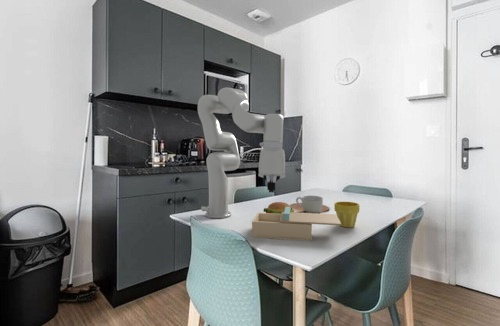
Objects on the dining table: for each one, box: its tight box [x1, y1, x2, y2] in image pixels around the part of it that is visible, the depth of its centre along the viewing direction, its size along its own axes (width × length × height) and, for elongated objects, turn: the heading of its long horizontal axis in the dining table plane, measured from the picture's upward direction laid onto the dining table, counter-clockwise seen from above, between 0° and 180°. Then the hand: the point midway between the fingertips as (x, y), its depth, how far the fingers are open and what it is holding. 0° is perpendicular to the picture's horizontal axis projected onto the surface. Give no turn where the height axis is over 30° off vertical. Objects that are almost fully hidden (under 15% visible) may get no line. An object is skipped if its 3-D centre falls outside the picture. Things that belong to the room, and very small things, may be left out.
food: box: [262, 201, 295, 214], centre depth 129 cm, size 14×14×8 cm
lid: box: [280, 207, 341, 226], centre depth 105 cm, size 22×14×3 cm, turn 80°
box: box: [251, 212, 313, 242], centre depth 107 cm, size 22×14×6 cm, turn 80°
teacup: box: [295, 195, 324, 214], centre depth 144 cm, size 14×11×8 cm
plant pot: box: [333, 201, 360, 229], centre depth 118 cm, size 10×10×10 cm
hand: (271, 191), depth 108 cm, fingers closed
